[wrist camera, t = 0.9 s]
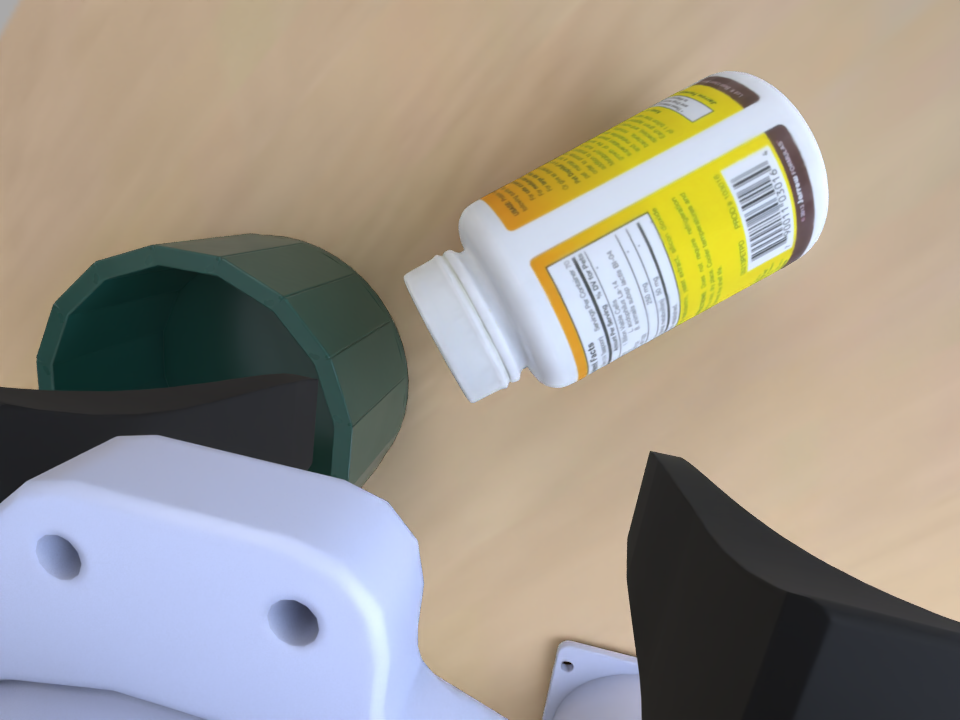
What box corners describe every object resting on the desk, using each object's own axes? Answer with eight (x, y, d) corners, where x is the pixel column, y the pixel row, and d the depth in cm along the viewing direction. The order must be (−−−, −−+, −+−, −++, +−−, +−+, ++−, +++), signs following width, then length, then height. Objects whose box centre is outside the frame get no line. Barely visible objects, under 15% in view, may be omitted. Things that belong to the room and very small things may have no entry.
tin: (394, 517, 25) (338, 608, 19) (162, 463, 26) (50, 532, 21) (423, 259, 22) (364, 282, 16) (157, 214, 23) (22, 221, 18)
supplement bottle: (684, 139, 20) (410, 285, 19) (743, 12, 14) (364, 213, 14) (780, 280, 18) (490, 436, 18) (884, 201, 13) (474, 422, 13)
